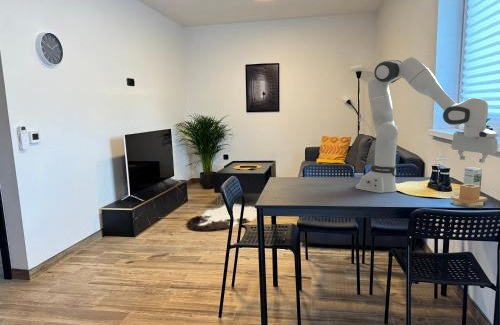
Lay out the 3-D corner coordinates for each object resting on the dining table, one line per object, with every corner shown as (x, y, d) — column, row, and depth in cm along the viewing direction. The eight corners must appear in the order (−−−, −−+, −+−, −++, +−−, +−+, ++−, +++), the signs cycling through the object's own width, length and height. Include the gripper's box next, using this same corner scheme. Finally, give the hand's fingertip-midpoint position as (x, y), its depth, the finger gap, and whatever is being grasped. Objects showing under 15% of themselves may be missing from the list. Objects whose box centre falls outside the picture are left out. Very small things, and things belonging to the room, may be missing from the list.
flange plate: (468, 204, 163) (470, 189, 162) (450, 199, 171) (452, 185, 170) (487, 200, 169) (488, 185, 168) (469, 196, 177) (470, 182, 176)
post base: (452, 204, 168) (453, 201, 168) (456, 196, 183) (456, 193, 182) (482, 208, 161) (482, 205, 161) (484, 199, 176) (484, 196, 175)
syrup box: (471, 196, 182) (474, 169, 180) (462, 193, 188) (464, 167, 185) (480, 195, 184) (482, 168, 181) (470, 192, 189) (472, 166, 187)
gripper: (449, 131, 173) (447, 158, 175) (492, 134, 155) (489, 164, 157) (458, 130, 175) (455, 157, 178) (501, 133, 157) (497, 163, 159)
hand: (471, 161), depth 167 cm, fingers open, 8 cm apart
